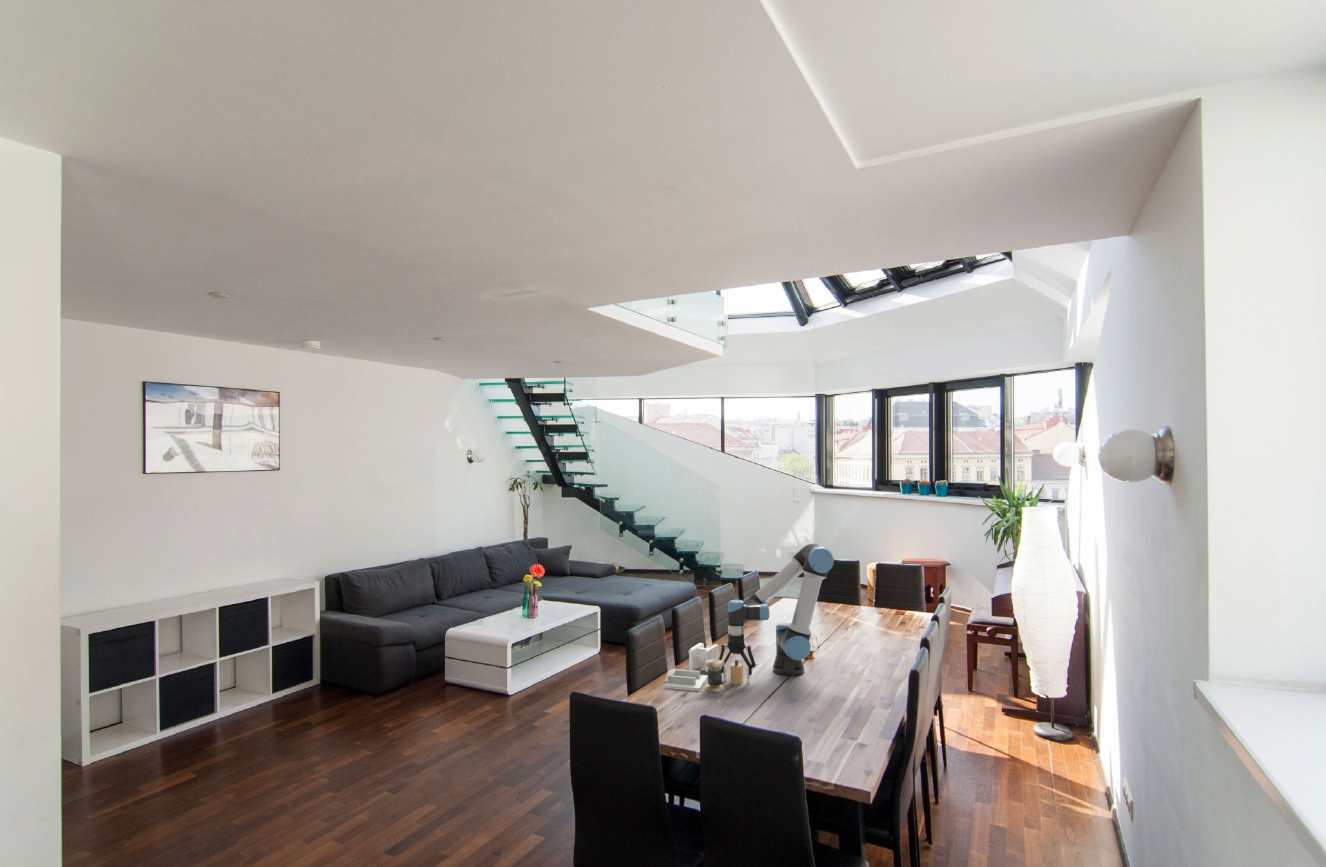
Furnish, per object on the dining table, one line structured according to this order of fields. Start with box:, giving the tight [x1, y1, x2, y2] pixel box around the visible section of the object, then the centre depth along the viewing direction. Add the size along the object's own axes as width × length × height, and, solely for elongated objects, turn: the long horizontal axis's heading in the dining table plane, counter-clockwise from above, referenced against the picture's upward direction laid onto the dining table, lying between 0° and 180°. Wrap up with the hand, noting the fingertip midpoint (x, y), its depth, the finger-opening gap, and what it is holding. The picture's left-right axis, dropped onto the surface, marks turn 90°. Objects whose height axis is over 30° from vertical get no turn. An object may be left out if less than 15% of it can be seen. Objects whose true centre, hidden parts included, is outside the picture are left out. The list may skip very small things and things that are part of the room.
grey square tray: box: [665, 668, 708, 692], centre depth 314 cm, size 16×18×4 cm
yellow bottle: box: [729, 659, 744, 685], centre depth 315 cm, size 5×5×10 cm
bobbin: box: [704, 659, 726, 693], centre depth 306 cm, size 9×9×12 cm
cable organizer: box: [688, 642, 720, 674], centre depth 334 cm, size 15×11×12 cm
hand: (736, 681), depth 315 cm, fingers open, 10 cm apart
